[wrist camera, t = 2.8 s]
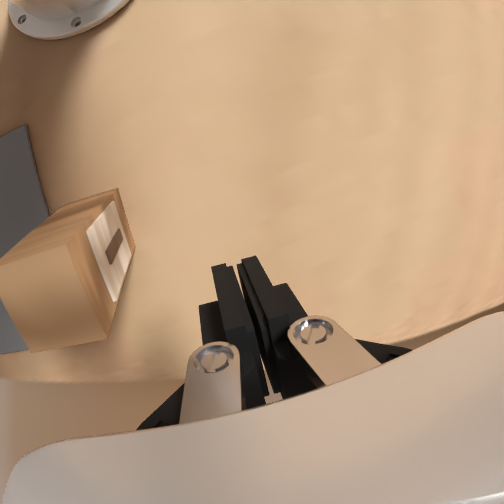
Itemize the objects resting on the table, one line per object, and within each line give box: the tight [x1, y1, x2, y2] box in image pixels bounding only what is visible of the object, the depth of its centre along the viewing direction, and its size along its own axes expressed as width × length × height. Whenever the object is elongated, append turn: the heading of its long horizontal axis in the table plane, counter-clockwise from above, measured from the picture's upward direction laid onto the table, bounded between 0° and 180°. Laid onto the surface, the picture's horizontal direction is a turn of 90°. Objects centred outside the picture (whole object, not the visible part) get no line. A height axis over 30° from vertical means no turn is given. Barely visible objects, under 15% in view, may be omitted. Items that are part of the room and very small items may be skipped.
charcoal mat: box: [0, 125, 50, 354], centre depth 21 cm, size 20×14×1 cm
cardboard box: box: [0, 188, 136, 353], centre depth 18 cm, size 5×5×12 cm
